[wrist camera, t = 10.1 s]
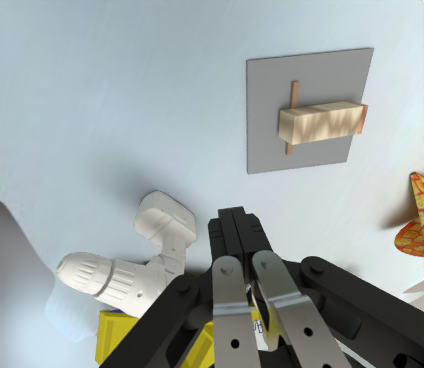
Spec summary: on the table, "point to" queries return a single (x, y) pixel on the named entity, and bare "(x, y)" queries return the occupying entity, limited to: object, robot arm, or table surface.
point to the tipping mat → (299, 105)
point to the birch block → (321, 121)
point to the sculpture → (414, 223)
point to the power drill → (130, 272)
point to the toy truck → (122, 323)
